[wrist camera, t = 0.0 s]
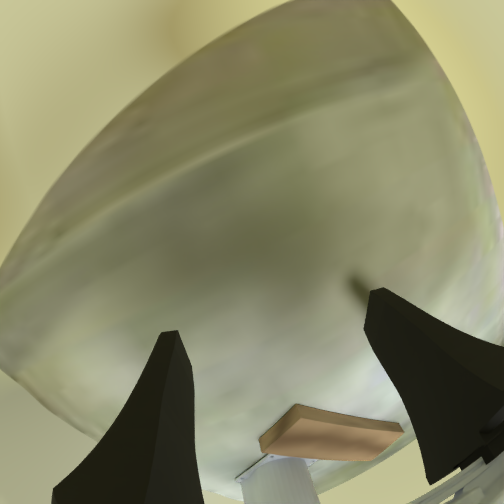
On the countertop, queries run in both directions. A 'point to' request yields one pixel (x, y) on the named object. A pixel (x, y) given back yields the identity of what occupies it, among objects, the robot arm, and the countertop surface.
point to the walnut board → (328, 436)
